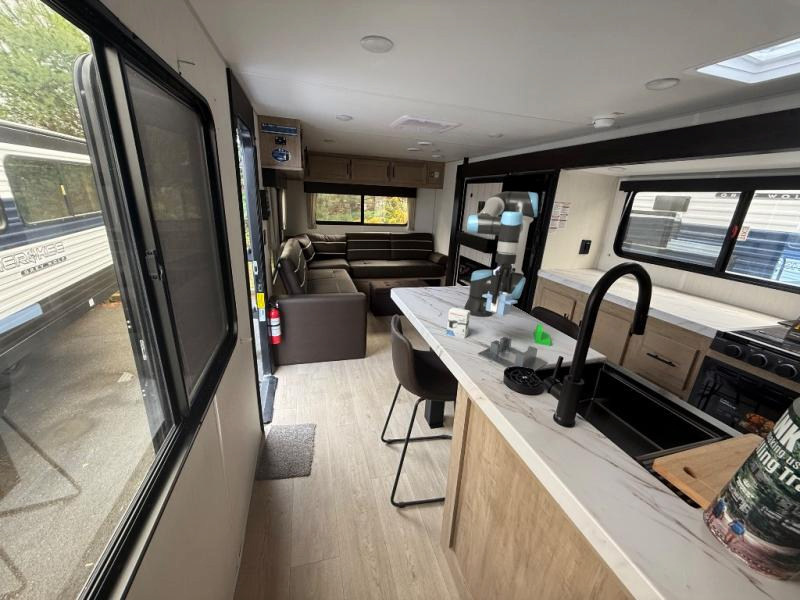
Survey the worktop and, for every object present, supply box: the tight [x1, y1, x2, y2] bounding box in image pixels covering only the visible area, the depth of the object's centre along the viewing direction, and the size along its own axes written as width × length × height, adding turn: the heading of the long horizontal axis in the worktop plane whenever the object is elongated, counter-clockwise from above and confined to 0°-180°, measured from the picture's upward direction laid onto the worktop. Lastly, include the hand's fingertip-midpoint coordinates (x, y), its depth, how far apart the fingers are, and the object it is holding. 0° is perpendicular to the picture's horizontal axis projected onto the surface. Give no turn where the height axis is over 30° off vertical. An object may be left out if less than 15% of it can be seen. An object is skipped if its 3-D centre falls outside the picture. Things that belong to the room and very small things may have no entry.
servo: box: [482, 291, 518, 317], centre depth 125 cm, size 5×13×9 cm, turn 40°
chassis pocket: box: [477, 336, 548, 372], centre depth 117 cm, size 16×20×6 cm
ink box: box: [445, 306, 471, 340], centre depth 135 cm, size 8×5×12 cm, turn 62°
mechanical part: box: [533, 323, 551, 347], centre depth 136 cm, size 12×6×8 cm, turn 159°
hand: (497, 309), depth 126 cm, fingers closed on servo, 5 cm apart
